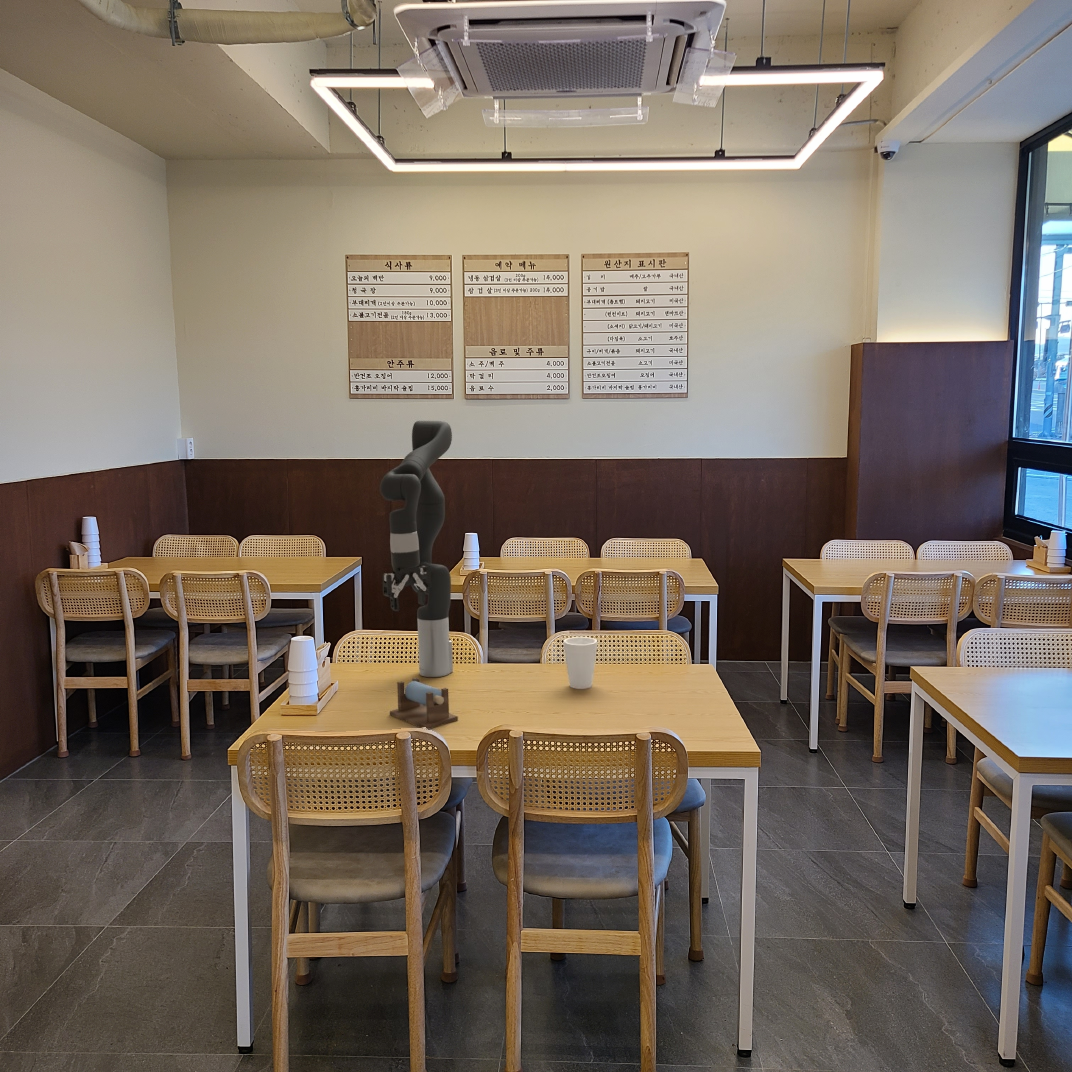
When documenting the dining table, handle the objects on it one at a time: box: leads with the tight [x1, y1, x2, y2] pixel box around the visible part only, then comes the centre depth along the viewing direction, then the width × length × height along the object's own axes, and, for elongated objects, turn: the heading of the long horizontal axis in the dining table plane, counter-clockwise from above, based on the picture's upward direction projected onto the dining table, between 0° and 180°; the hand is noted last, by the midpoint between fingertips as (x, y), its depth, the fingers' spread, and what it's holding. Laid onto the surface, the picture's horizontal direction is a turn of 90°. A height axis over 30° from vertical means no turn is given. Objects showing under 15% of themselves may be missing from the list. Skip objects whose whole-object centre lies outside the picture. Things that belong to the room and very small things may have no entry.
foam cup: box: [563, 636, 598, 690], centre depth 264 cm, size 10×9×13 cm
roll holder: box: [389, 677, 459, 729], centre depth 239 cm, size 16×10×8 cm, turn 42°
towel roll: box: [404, 681, 444, 706], centre depth 239 cm, size 14×5×5 cm, turn 42°
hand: (408, 607), depth 252 cm, fingers open, 8 cm apart
